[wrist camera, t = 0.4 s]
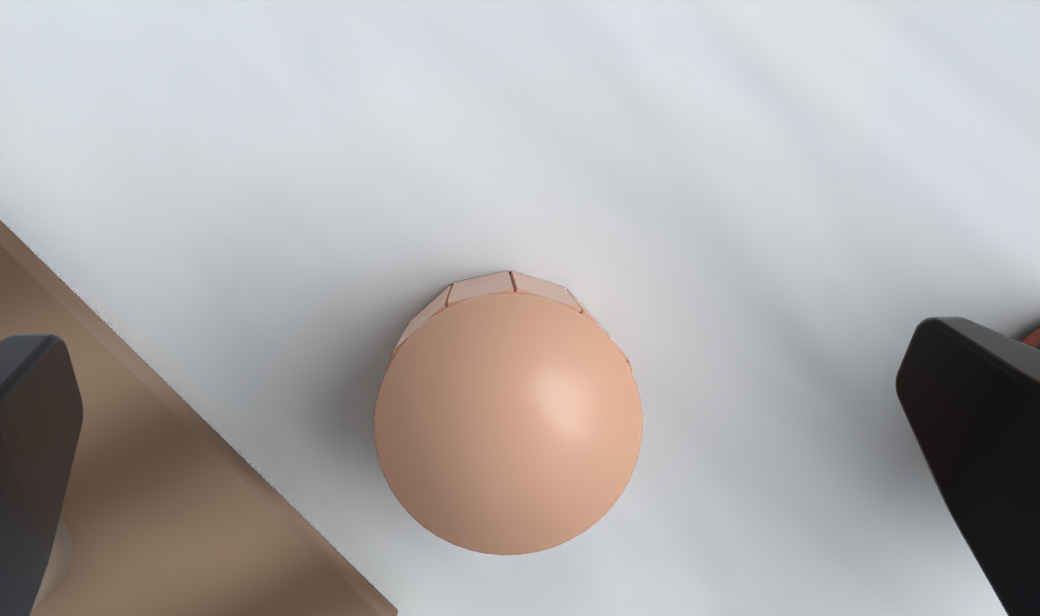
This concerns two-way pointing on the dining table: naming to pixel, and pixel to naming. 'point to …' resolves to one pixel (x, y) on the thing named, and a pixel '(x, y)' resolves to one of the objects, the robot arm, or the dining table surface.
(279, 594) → the post board
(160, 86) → the dining table surface
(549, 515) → the cap
